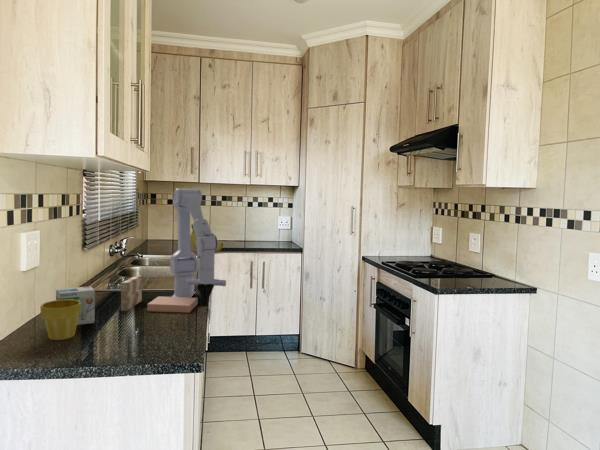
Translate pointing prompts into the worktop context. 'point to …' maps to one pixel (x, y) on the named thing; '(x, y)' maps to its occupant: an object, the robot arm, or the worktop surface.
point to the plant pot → (61, 318)
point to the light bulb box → (84, 296)
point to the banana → (193, 239)
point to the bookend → (131, 292)
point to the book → (172, 304)
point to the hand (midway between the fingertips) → (205, 304)
